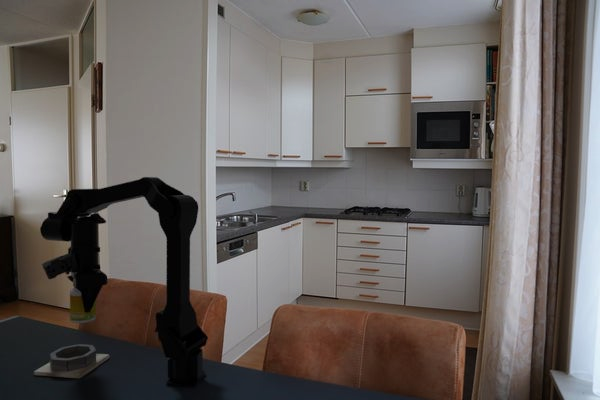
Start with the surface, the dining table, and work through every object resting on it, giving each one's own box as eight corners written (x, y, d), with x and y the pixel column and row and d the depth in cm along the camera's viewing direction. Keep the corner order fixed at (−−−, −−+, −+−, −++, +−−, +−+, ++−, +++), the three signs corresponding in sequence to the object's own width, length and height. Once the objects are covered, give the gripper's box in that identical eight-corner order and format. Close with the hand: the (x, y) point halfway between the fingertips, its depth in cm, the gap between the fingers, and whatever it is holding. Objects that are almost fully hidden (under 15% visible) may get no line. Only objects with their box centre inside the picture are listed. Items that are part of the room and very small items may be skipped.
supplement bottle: (88, 324, 97) (87, 281, 97) (65, 323, 97) (64, 281, 97) (100, 316, 103) (100, 276, 102) (78, 316, 103) (77, 275, 102)
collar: (109, 357, 104) (109, 344, 103) (79, 378, 93) (79, 363, 93) (68, 354, 105) (67, 341, 105) (34, 374, 94) (33, 360, 94)
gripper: (40, 240, 102) (41, 304, 103) (48, 251, 87) (49, 327, 88) (91, 237, 109) (92, 297, 109) (107, 247, 94) (108, 317, 94)
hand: (85, 309), depth 100 cm, fingers closed on supplement bottle, 5 cm apart
